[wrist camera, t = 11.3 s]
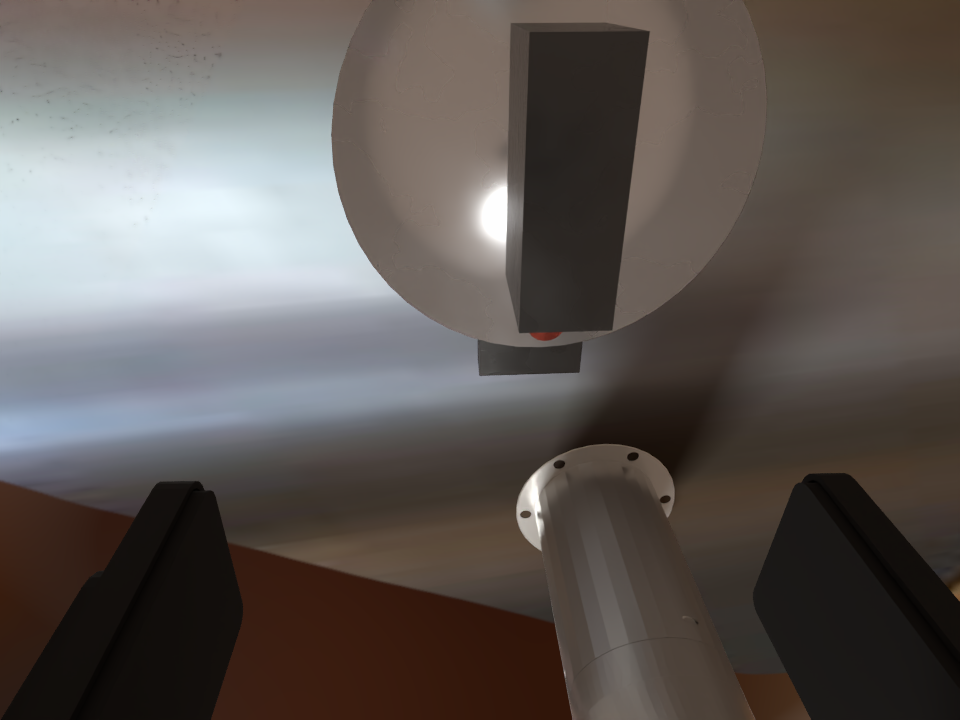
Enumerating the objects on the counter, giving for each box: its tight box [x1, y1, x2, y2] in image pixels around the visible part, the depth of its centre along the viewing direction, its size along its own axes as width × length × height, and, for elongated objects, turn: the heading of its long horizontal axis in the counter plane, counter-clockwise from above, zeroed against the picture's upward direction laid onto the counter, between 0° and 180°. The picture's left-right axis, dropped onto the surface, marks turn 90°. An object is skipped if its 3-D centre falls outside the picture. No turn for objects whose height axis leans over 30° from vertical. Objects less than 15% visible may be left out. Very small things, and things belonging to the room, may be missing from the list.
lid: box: [331, 0, 767, 347], centre depth 21 cm, size 16×16×6 cm
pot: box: [478, 339, 582, 376], centre depth 28 cm, size 22×16×10 cm
